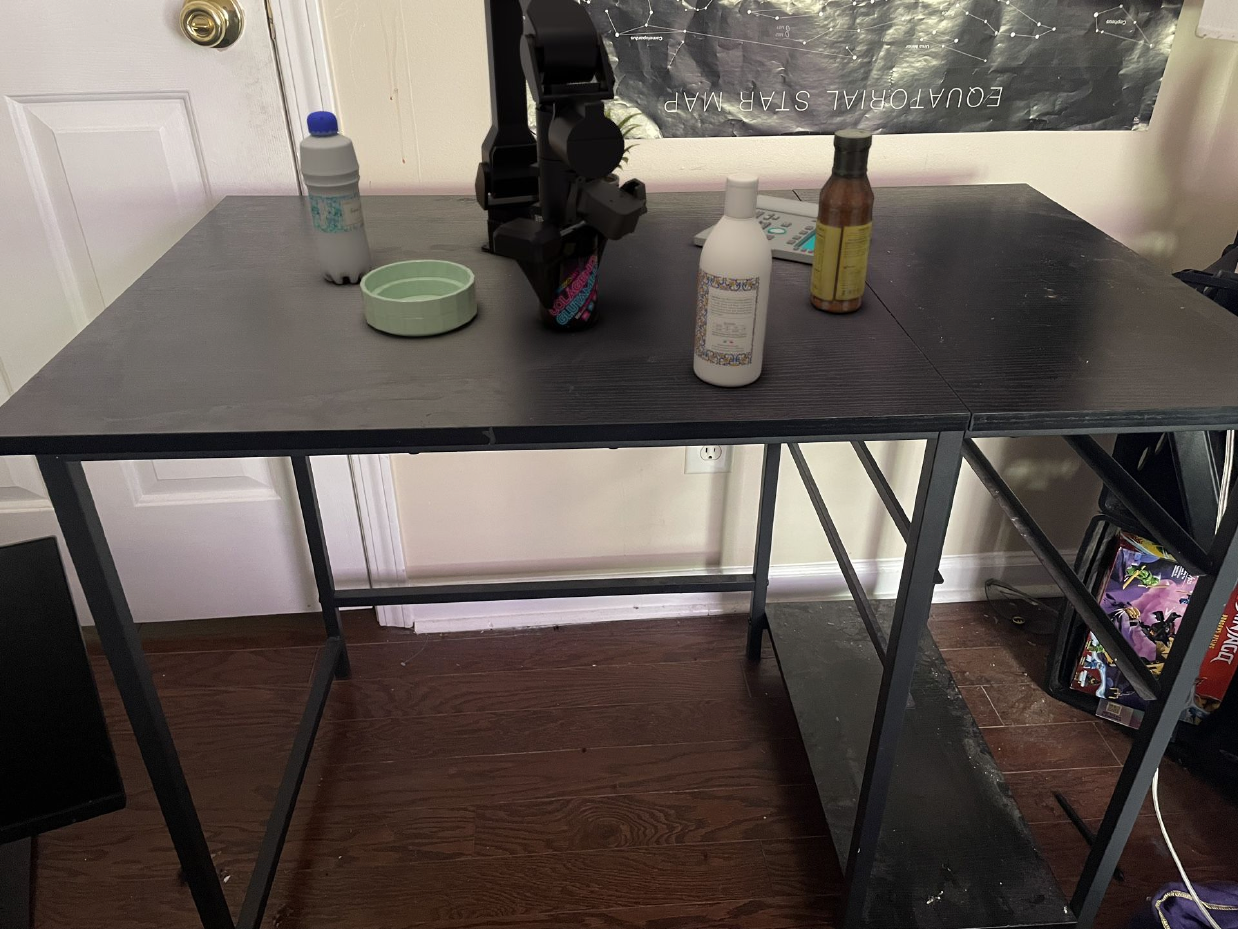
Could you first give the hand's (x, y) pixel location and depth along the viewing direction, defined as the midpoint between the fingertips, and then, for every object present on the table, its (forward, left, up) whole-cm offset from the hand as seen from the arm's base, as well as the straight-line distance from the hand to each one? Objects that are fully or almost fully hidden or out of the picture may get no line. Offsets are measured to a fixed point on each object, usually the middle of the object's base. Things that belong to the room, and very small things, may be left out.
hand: (568, 296), depth 102 cm
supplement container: (0, 0, -3) cm, 3 cm away
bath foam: (+2, +21, -3) cm, 21 cm away
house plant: (-33, -16, -3) cm, 37 cm away
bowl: (+8, -15, -3) cm, 17 cm away
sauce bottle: (-21, +24, -3) cm, 32 cm away
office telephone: (-42, +10, -3) cm, 43 cm away
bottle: (+4, -31, -3) cm, 32 cm away
